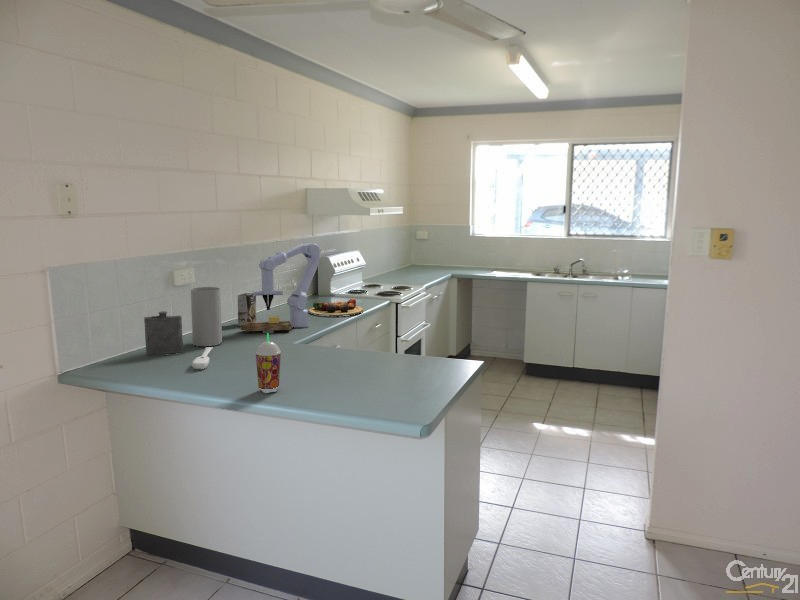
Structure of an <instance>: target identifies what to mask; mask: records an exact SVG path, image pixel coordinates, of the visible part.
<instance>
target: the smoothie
mask: <svg viewBox="0 0 800 600" xmlns="http://www.w3.org/2000/svg"><path fill="white" fill-rule="evenodd" d="M269 337H270V334H269V333H267V334H266V341H263V342H262V343H260V345H259V346H258V347H257V349H256V351H255V361H256V363H255V364H256V371H257V374H256V375H257V384H258V389H259V388H261V389H273V388H276V387H278V386H279V387H280V376H281V374H280V373H281V355H282V354H281V353H282V351H281V350H280V348H279V346H278V345H277V344H276V343H275V342H274V341H272V340H271V341H270V338H269Z"/></svg>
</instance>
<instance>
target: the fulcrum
mask: <svg viewBox="0 0 800 600" xmlns="http://www.w3.org/2000/svg"><path fill="white" fill-rule="evenodd" d="M267 333H269V335H271V334H274V330H265V331H262V334H264V335H265V334H266V335H267Z"/></svg>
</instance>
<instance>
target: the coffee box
mask: <svg viewBox="0 0 800 600" xmlns="http://www.w3.org/2000/svg"><path fill="white" fill-rule="evenodd" d="M245 322H257V296H253V292H251V293H248V292H246V293H241V294H238V295H237V326H239V327H241V324H245Z"/></svg>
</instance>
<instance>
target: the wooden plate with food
mask: <svg viewBox="0 0 800 600" xmlns="http://www.w3.org/2000/svg"><path fill="white" fill-rule="evenodd" d="M314 310H315V311H314ZM309 312H310V313H312V314H316V315H329V316H343V315H354V314H358V315H360V314H359V313H361V312H362V313H364V309H363V307H361V306H359V305H358V306H357V300H356V298H354V297H351V298H350V299H348V300H347V301H339V300H338V301H335V302H330V303H327V302H321V300H319V301H315V302H313V304H312V308H310V309H309V310H308V313H309ZM362 313H361V314H362ZM354 316H355V315H354Z"/></svg>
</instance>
